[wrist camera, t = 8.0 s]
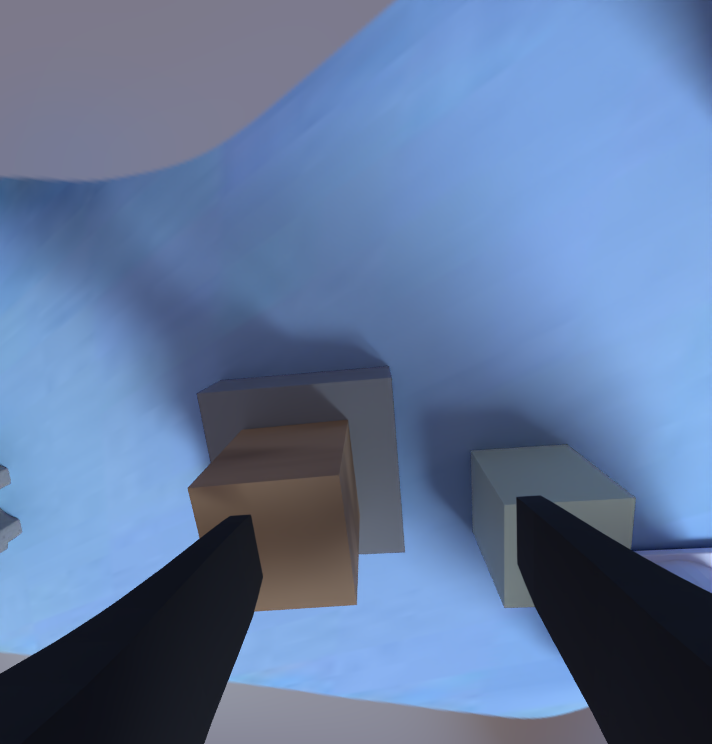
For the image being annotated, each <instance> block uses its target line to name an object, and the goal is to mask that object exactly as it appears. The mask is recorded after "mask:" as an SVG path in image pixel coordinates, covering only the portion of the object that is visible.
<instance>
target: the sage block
mask: <svg viewBox="0 0 712 744" xmlns="http://www.w3.org/2000/svg"><path fill="white" fill-rule="evenodd" d="M471 484H472V526H473V534H474V536H475V538H476V541H477V543H478V546H479V548H480V550H481V553H482V555H483V558H484V560H485V562H486V565H487V567H488V570H489V572H490V575H491V577H492V579H493V582H494V584H495V587H496V589H497V591H498V594H499V596H500V599H501V601H502V603H503V606H504V608H520V607H535V606H534V604H533V601H532V599H531V597H530V594H529V592H528V590H527V587H526V585H525V582H524V580H523V577H522V575H521V572H520V570H519V567H518V565H517V515H516V497H521V496H537V495H541V496H543V497H544V498H546V499H548V500H550V501H551V502H553V503H555V504H556V505H558V506H560V507H561V508H563V509H565V510H566V511H568V512H569V513H571V514H573V515H574V516H576V517H578V518H579V519H581V520H582V521H584V522H586V523H587V524H589V525H590V526H592V527H594V528H595V529H597V530H599V531H600V532H602V533H604V534H605V535H607V536H609V537H610V538H612V539H614V540H615V541H617V542H619V543H620V544H622V545H624V546H625V547H627V548H629V549H631V543H632V533H633V522H634V511H635V500H636V498H635V497H634V496H632V495H631V494H630V493H629V492H627V491H626V490H625V489H623V488H622V487H621V486H620V485H618V484H617V483H616V482H615V481H613V480H612V479H611V478H609V477H608V476H607V475H606V474H604V473H603V472H602V471H600V470H599V469H598V468H597V467H595V466H594V465H593V464H592V463H590V462H589V461H588V460H586V459H585V458H584V457H583V456H581V455H580V454H579V453H577V452H576V451H575V450H574V449H572V448H571V447H570V446H569V445H567V444H564V445H548V446H533V447H517V448H501V449H485V450H471Z"/></svg>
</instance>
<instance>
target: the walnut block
mask: <svg viewBox="0 0 712 744" xmlns="http://www.w3.org/2000/svg"><path fill="white" fill-rule="evenodd" d="M188 492H189V496H190V500H191V504H192V508H193V513H194V517H195V521H196V525H197V529H198V533H199V538H201V537H202V536H204V535H205V534H206V533H207V532H209V531H210V530H211V529H212V528H214V527H215V526H216V525H218V524H219V523H220V522H222V521H223V520H225V519H226V518H228V517H229V516H235V515H251V517H252V522H253V527H254V533H255V538H256V543H257V548H258V553H259V558H260V563H261V568H262V573H263V580H262V584H261V588H260V592H259V596H258V600H257V603H256V607H255V610H254V611H269V610H285V609H300V608H316V607H331V606H347V605H357V585H358V557H359V529H360V512H359V504H358V496H357V488H356V480H355V472H354V464H353V456H352V448H351V440H350V432H349V424H348V420H339V421H328V422H318V423H307V424H297V425H286V426H276V427H265V428H255V429H245V430H241V431H240V432H239V433H238V434H237V436H236V437H235V438H234V439H233V440H232V441H231V442H230V443H229V444H228V445H227V446H226V447H225V448H224V450H223V451H222V452H221V453H220V454H219V455H218V456H217V457H216V458H215V459H214V460H213V461H212V462H211V464H210V465H209V466H208V467H207V468H206V469H205V470H204V471H203V472H202V473H201V474H200V475H199V476H198V477H197V479H196V480H195V481H194V482H193V483H192V484H191V485H190V486H189V487H188Z"/></svg>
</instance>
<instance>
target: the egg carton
mask: <svg viewBox="0 0 712 744" xmlns="http://www.w3.org/2000/svg"><path fill="white" fill-rule="evenodd" d="M9 484H11V479H10V475H9V471H8V468H6V467H3V466H1V465H0V489H1V488H3V487H5V486H7V485H9ZM21 533H22V528H21V523H20V520H19V519H17V518H14V517H11V516H9V515H8V514H6V513H5V512H4V511H3V510H1V508H0V553H1V552H3V551H4V550H6V549H7V548H8V542H9V541H11V540H13V539H14V538H16V537H17V536H18V535H20V534H21Z"/></svg>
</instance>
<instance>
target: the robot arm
mask: <svg viewBox="0 0 712 744" xmlns="http://www.w3.org/2000/svg"><path fill="white" fill-rule="evenodd" d="M516 515H517V565H518V567H519V570H520V572H521V575H522V577H523V580H524V582H525V585H526V587H527V590H528V592H529V594H530V597H531V599H532V601H533V604H534V606H535V608H536V610H537V612H538V614H539V615H540V617H541V619H542V621H543V623H544V625H545V627H546V628H547V630H548V632H549V634H550V636H551V638H552V640H553V642H554V643H555V645H556V647H557V649H558V651H559V653H560V654H561V656H562V658H563V660H564V662H565V664H566V665H567V667H568V669H569V671H570V673H571V675H572V676H573V678H574V680H575V682H576V684H577V686H578V687H579V689H580V691H581V693H582V695H583V697H584V698H585V700H586V702H587V704H588V706H589V708H590V709H591V711H592V713H593V715H594V717H595V719H596V721H597V723H598V725H599V727H600V729H601V731H602V733H603V735H604V737H605V739H606V741H607V743H608V744H712V548H693V549H670V550H647V551H632V550H631V549H629V548H627V547H625V546H624V545H622V544H620V543H619V542H617V541H615V540H614V539H612V538H610V537H609V536H607V535H605V534H604V533H602V532H600V531H599V530H597V529H595V528H594V527H592V526H590V525H589V524H587V523H586V522H584V521H582V520H581V519H579V518H578V517H576V516H574V515H573V514H571V513H569V512H568V511H566V510H565V509H563V508H561V507H560V506H558V505H556V504H555V503H553V502H551V501H550V500H548V499H546V498H544V497H543V496H541V495H537V496H521V497H516ZM262 580H263V573H262V568H261V563H260V558H259V553H258V548H257V543H256V538H255V533H254V527H253V522H252V517H251V515H235V516H229V517H228V518H226V519H225V520H223V521H222V522H220V523H219V524H218V525H216V526H215V527H214V528H212V529H211V530H210V531H209V532H207V533H206V534H205V535H204V536H202V537H201V538H200V539H198V540H197V541H196V542H195V543H193V544H192V545H191V546H190V547H188V548H187V549H186V550H185V551H183V552H182V553H181V554H179V555H178V556H177V557H176V558H174V559H173V560H172V561H171V562H169V563H168V564H167V565H165V566H164V567H163V568H162V569H160V570H159V571H158V572H156V573H155V574H153V575H152V576H151V577H149V578H148V579H147V580H145V581H144V582H143V583H141V584H140V585H139V586H137V587H136V588H134V589H133V590H132V591H130V592H129V593H128V594H126V595H125V596H124V597H122V598H121V599H119V600H118V601H117V602H115V603H114V604H112V605H111V606H109V607H108V608H106V609H105V610H104V611H102V612H101V613H99V614H98V615H96V616H95V617H93V618H92V619H90V620H88V621H87V622H85V623H84V624H82V625H81V626H79V627H78V628H76V629H75V630H73V631H71V632H70V633H68V634H67V635H65V636H64V637H62V638H60V639H59V640H57V641H56V642H54V643H52V644H51V645H49V646H47V647H45V648H44V649H42V650H40V651H39V652H37V653H35V654H33V655H32V656H30V657H28V658H27V659H25V660H23V661H21V662H20V663H18V664H16V665H14V666H13V667H11V668H9V669H8V670H6V671H4V672H2V673H1V674H0V744H204V743H205V740H206V737H207V734H208V731H209V729H210V726H211V723H212V720H213V718H214V715H215V713H216V710H217V708H218V705H219V702H220V700H221V697H222V695H223V692H224V690H225V687H226V684H227V682H228V680H229V677H230V674H231V672H232V669H233V667H234V664H235V662H236V659H237V657H238V654H239V652H240V649H241V646H242V644H243V641H244V639H245V636H246V633H247V631H248V628H249V625H250V623H251V620H252V617H253V614H254V610H255V607H256V603H257V600H258V596H259V592H260V588H261V584H262Z"/></svg>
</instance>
